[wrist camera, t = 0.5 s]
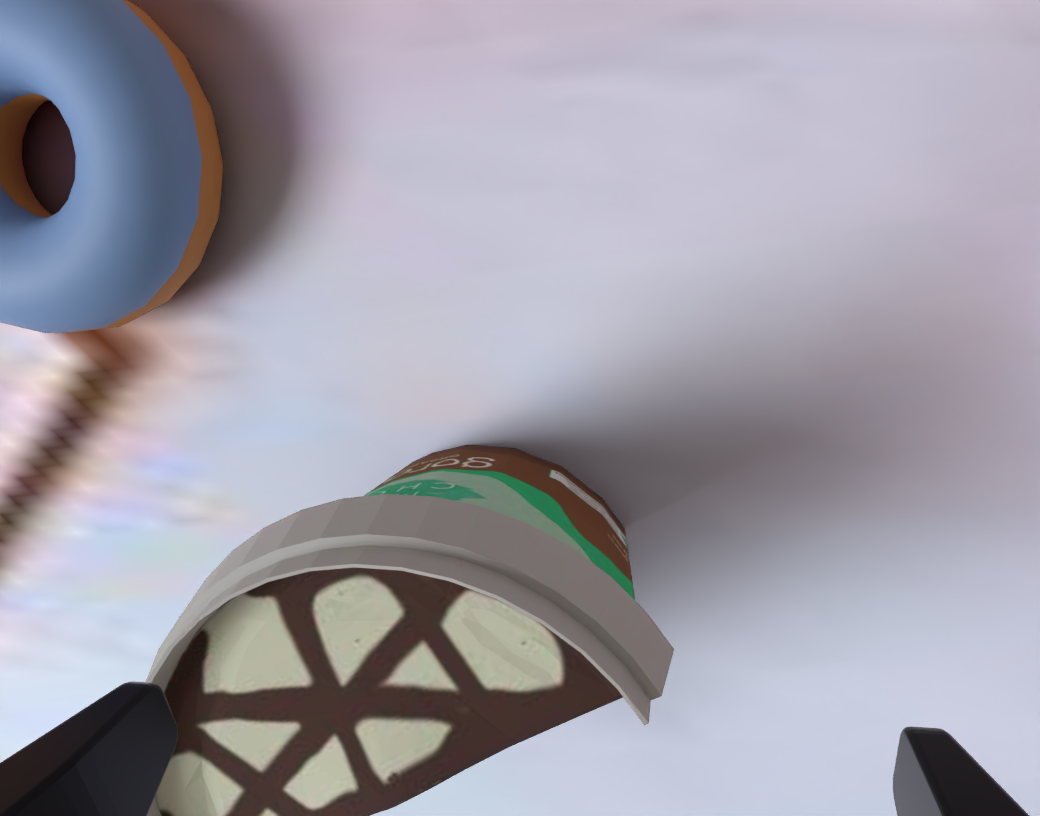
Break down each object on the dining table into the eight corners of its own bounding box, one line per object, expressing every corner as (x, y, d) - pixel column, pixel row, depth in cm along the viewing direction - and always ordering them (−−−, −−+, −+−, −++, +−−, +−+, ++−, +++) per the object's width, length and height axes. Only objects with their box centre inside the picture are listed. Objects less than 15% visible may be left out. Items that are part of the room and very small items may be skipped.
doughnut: (-79, -34, 23) (-243, -75, 18) (244, -15, 22) (150, -52, 17) (-23, 298, 26) (-150, 330, 22) (259, 328, 25) (184, 367, 21)
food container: (561, 328, 22) (486, 407, 12) (669, 506, 23) (676, 712, 13) (244, 518, 25) (-9, 696, 16) (345, 669, 26) (163, 929, 16)
